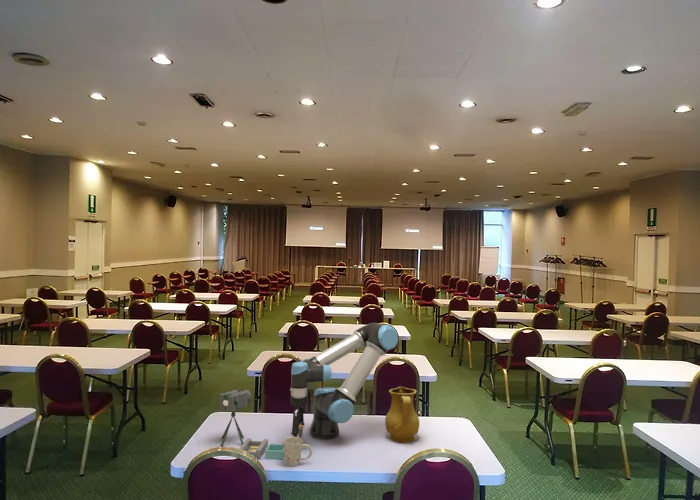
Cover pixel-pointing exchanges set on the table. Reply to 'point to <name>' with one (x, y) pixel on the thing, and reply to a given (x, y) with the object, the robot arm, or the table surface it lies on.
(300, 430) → the aa cell
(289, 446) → the mug
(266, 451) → the tray
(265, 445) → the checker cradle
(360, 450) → the table surface
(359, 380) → the robot arm
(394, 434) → the pitcher
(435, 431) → the table surface
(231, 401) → the camera
